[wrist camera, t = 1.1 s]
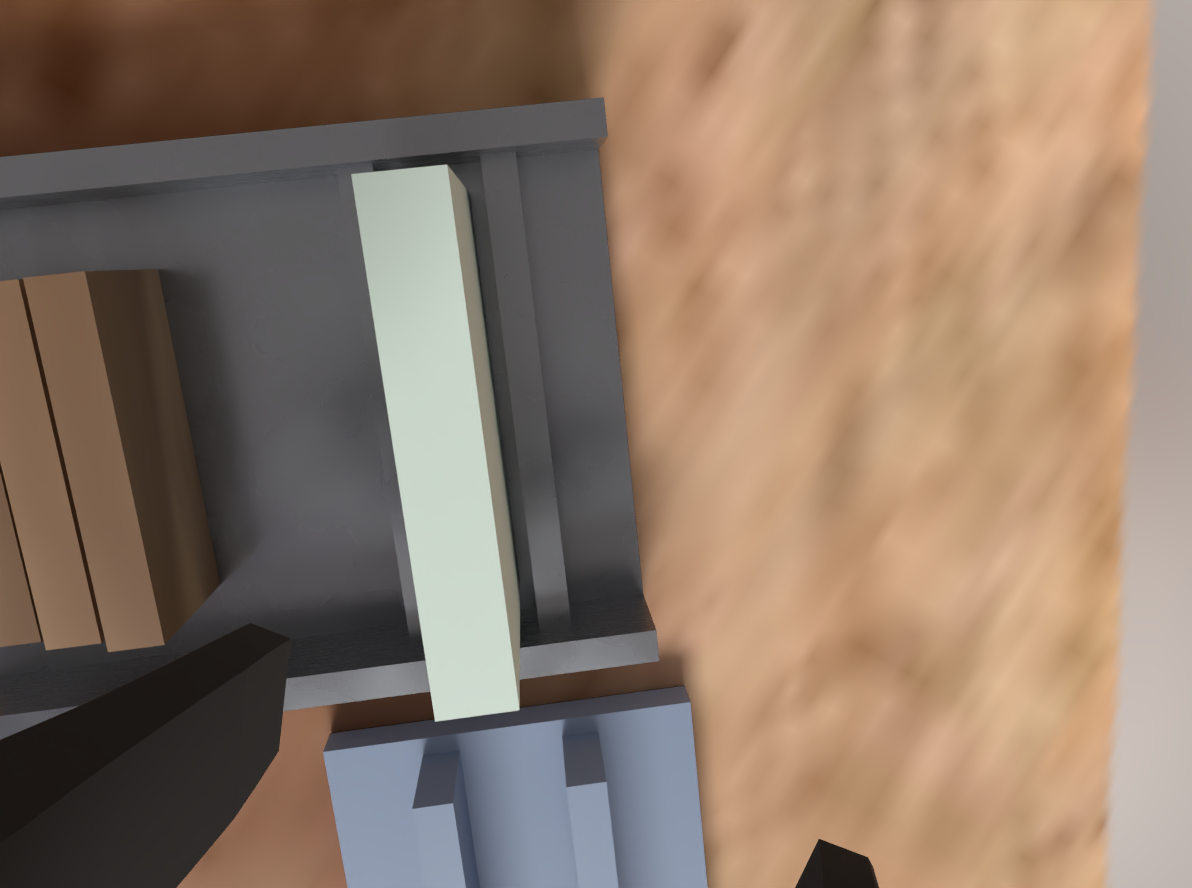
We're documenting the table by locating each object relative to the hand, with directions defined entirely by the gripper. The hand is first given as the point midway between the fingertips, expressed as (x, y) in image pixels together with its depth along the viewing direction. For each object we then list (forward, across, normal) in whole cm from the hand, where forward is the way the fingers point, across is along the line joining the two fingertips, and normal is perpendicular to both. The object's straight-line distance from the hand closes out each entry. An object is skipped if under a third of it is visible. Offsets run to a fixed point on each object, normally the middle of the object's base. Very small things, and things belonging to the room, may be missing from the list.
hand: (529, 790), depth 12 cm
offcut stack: (+9, +14, +4) cm, 16 cm away
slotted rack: (+11, +10, +2) cm, 15 cm away
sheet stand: (+10, 0, +15) cm, 18 cm away
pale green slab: (+12, +6, +1) cm, 13 cm away
